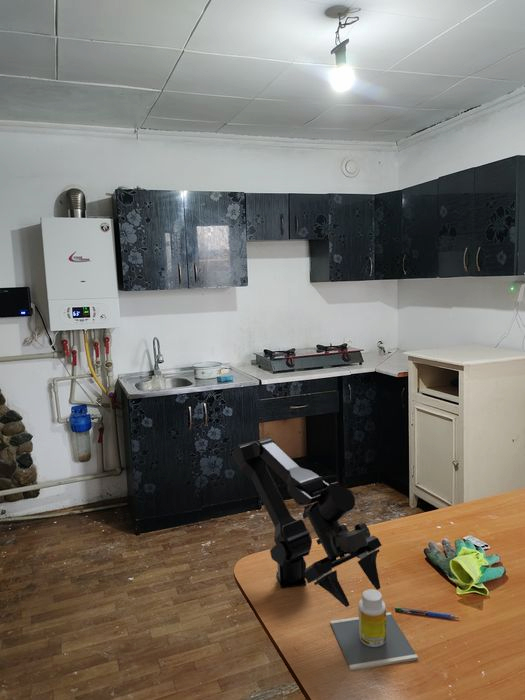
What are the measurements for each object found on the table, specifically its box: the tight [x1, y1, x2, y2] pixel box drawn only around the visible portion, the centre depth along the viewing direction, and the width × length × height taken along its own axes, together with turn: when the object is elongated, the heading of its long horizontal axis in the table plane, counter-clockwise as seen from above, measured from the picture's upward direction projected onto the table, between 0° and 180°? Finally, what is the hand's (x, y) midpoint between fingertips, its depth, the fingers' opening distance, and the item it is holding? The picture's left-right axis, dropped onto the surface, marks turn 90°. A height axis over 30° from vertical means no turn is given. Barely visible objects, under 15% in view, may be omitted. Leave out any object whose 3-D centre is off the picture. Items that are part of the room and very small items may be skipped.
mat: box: [329, 611, 419, 672], centre depth 110 cm, size 14×14×1 cm
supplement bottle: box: [358, 588, 387, 647], centre depth 109 cm, size 6×6×10 cm
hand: (363, 597), depth 110 cm, fingers open, 9 cm apart
